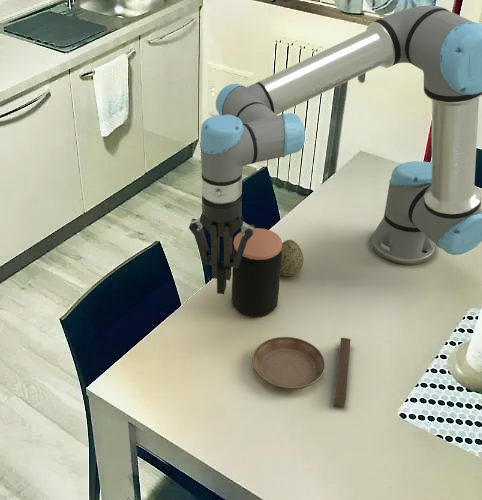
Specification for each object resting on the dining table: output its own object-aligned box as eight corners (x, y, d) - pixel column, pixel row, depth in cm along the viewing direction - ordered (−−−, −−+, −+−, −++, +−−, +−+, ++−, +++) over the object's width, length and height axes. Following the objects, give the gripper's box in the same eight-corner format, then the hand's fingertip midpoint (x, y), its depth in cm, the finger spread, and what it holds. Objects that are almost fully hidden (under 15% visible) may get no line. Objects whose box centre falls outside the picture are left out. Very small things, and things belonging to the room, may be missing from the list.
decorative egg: (307, 276, 175) (311, 243, 169) (283, 286, 173) (286, 253, 167) (290, 261, 181) (293, 228, 175) (266, 270, 178) (268, 237, 172)
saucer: (249, 344, 158) (250, 335, 156) (318, 344, 157) (319, 335, 155) (254, 396, 146) (255, 387, 144) (328, 396, 145) (330, 387, 143)
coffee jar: (283, 295, 170) (288, 233, 160) (269, 324, 163) (274, 261, 152) (240, 285, 174) (242, 223, 163) (224, 312, 167) (226, 250, 156)
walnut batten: (348, 348, 155) (350, 338, 154) (344, 408, 142) (345, 398, 141) (339, 347, 156) (341, 337, 154) (333, 406, 143) (335, 396, 141)
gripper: (183, 202, 136) (187, 297, 150) (252, 209, 132) (250, 305, 147) (192, 181, 141) (195, 274, 155) (258, 187, 138) (255, 282, 152)
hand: (221, 289), depth 151 cm, fingers closed
